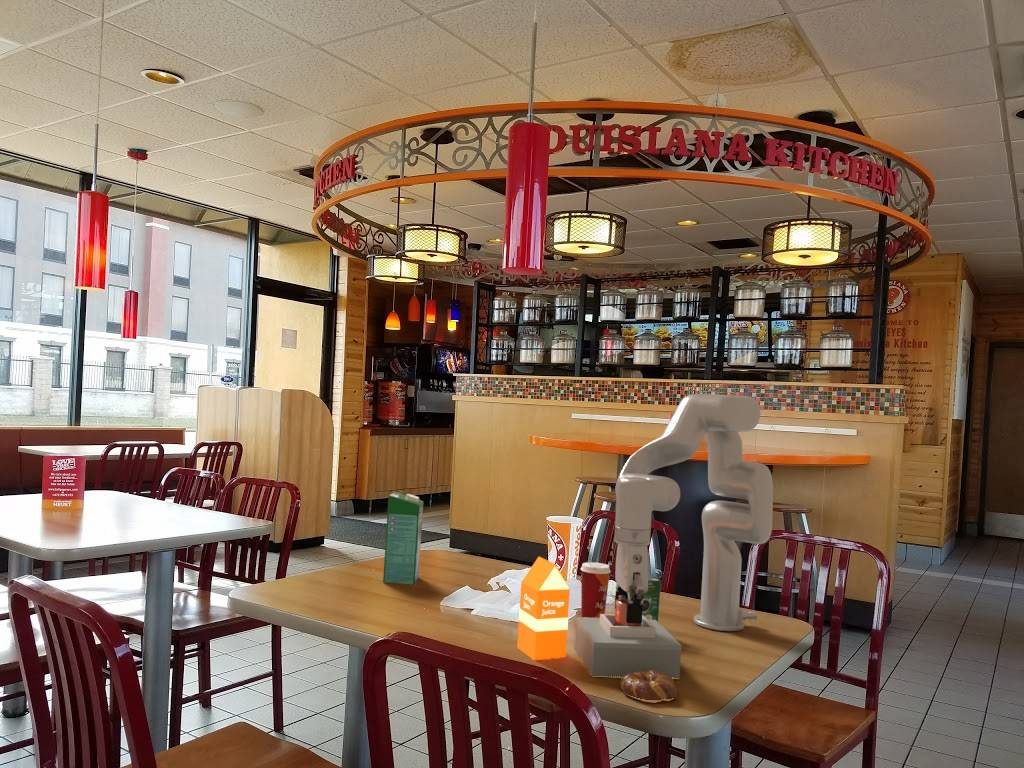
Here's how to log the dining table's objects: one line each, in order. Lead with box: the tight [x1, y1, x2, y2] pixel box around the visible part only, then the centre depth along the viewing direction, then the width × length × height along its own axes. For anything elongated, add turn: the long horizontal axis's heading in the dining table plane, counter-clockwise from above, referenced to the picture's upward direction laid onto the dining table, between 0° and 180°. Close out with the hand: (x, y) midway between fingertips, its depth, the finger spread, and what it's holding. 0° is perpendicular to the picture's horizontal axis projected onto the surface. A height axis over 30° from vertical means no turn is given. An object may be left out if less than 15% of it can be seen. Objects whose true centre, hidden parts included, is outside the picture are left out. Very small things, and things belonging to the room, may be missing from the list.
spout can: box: [614, 595, 639, 627], centre depth 168 cm, size 5×5×11 cm
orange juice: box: [516, 556, 571, 661], centre depth 172 cm, size 8×9×20 cm
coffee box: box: [630, 577, 662, 623], centre depth 191 cm, size 8×3×13 cm, turn 123°
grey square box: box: [574, 613, 682, 679], centre depth 168 cm, size 18×18×9 cm
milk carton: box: [382, 491, 424, 585], centre depth 230 cm, size 9×9×25 cm
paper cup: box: [580, 561, 612, 618], centre depth 200 cm, size 8×8×14 cm
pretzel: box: [619, 670, 678, 700], centre depth 151 cm, size 12×11×4 cm
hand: (627, 616), depth 168 cm, fingers open, 9 cm apart
